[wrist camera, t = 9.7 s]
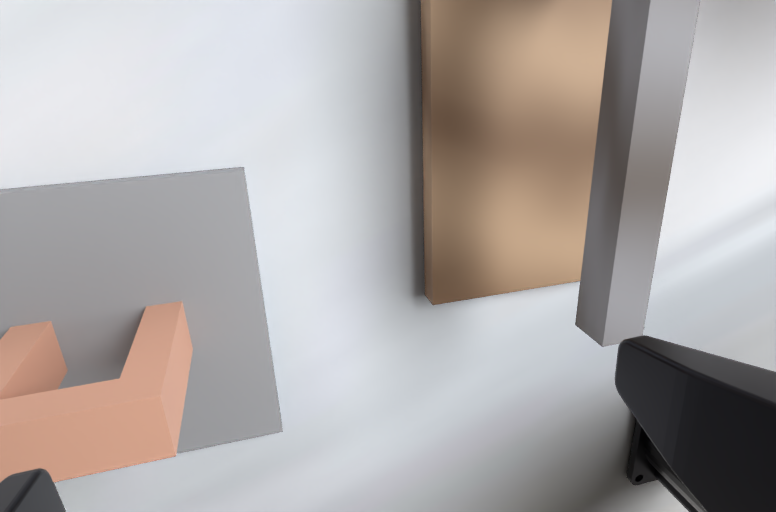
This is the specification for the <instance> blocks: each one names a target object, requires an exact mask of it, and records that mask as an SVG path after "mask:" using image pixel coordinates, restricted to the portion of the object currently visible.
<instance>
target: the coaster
mask: <svg viewBox="0 0 776 512" xmlns="http://www.w3.org/2000/svg"><path fill="white" fill-rule="evenodd" d="M179 301H182V302H183V307H184V311H185V316H186V320H187V325H188V329H189V334H190V338H191V343H192V347H193V352H192V358H191V365H190V371H189V377H188V383H187V390H186V396H185V402H184V409H183V415H182V421H181V428H180V434H179V440H178V447H177V453H176V454H178V453H183V452H187V451H192V450H197V449H202V448H207V447H211V446H216V445H221V444H226V443H231V442H235V441H240V440H245V439H250V438H255V437H259V436H264V435H269V434H274V433H279V432H283V431H282V422H281V415H280V408H279V402H278V395H277V388H276V381H275V375H274V368H273V361H272V354H271V348H270V341H269V334H268V327H267V321H266V314H265V307H264V300H263V294H262V287H261V280H260V273H259V267H258V260H257V253H256V246H255V239H254V233H253V226H252V219H251V212H250V206H249V199H248V192H247V185H246V179H245V172H244V167H239V168H229V169H218V170H207V171H196V172H185V173H174V174H164V175H153V176H142V177H131V178H120V179H109V180H99V181H88V182H77V183H66V184H55V185H45V186H34V187H23V188H12V189H1V190H0V339H1V338H2V337H3V336H4V334H5V333H6V332H7V331H8V330H9V328H10V327H13V326H20V325H27V324H33V323H40V322H47V321H51V323H52V325H53V328H54V331H55V334H56V337H57V340H58V343H59V346H60V349H61V352H62V355H63V358H64V361H65V364H66V367H67V370H68V371H67V373H66V375H65V377H64V378H63V380H62V382H61V384H60V386H59V388H58V389H63V388H69V387H74V386H80V385H85V384H91V383H97V382H102V381H108V380H114V379H119V378H120V376H121V373H122V371H123V368H124V365H125V362H126V360H127V357H128V354H129V352H130V349H131V346H132V343H133V341H134V338H135V335H136V333H137V330H138V327H139V324H140V322H141V319H142V316H143V314H144V311H145V308H146V306H153V305H159V304H166V303H173V302H179Z"/></svg>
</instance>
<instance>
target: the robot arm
mask: <svg viewBox="0 0 776 512" xmlns="http://www.w3.org/2000/svg"><path fill="white" fill-rule="evenodd" d="M615 385H616V388H617V391H618V393H619V395H620V396H621V398H622V399H623V401H624V402H625V403H626V405H627V406H628V408H629V409H630V411H631V412H632V414H633V415H634V416H635V418H636V419H637V420H636V426H635V431H634V437H633V442H632V448H631V454H630V459H629V465H628V470H627V478H628V480H629V481H630V482H631V483H632V484H633V485H640V484H643V483H647V482H651V481H654V480H659V481H660V482H661V483H662V484H663V485H664V486H665V487H666V488H667V489H668V491H669V492H670V493H671V494H672V495H673V496H674V497H675V498H676V499H677V500H678V501H679V502H680V503H681V504H682V505H683V506H684V507H685V508H686V509H687V510H688V511H689V512H776V372H774V371H770V370H767V369H763V368H760V367H756V366H753V365H749V364H745V363H742V362H738V361H735V360H731V359H728V358H724V357H721V356H717V355H713V354H710V353H706V352H703V351H699V350H696V349H692V348H689V347H685V346H681V345H678V344H674V343H671V342H667V341H664V340H660V339H656V338H653V337H649V336H637V337H632V338H628V339H624V340H623V341H621V343H620V344H619V347H618V355H617V363H616V372H615ZM0 512H66V511H65V508H64V506H63V504H62V501H61V499H60V496H59V494H58V492H57V489H56V487H55V485H54V482H53V480H52V478H51V476H50V474H49V472H48V471H47V470H45V469H42V468H38V469H33V470H29V471H24V472H20V473H15V474H12V475H10V476H8V477H7V478H5V479H4V480H3V481H1V482H0Z"/></svg>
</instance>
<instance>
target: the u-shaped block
mask: <svg viewBox="0 0 776 512" xmlns="http://www.w3.org/2000/svg"><path fill="white" fill-rule="evenodd" d="M192 352H193V347H192V343H191V338H190V334H189V329H188V325H187V320H186V316H185V311H184V307H183V302H182V301H179V302H173V303H166V304H159V305H153V306H146V308H145V311H144V314H143V316H142V319H141V322H140V324H139V327H138V330H137V333H136V335H135V338H134V341H133V343H132V346H131V349H130V352H129V354H128V357H127V360H126V362H125V365H124V368H123V371H122V373H121V376H120V378H119V379H114V380H108V381H102V382H97V383H91V384H85V385H80V386H74V387H69V388H63V389H58V388H59V386H60V384H61V382H62V380H63V378H64V377H65V375H66V373H67V371H68V370H67V367H66V364H65V361H64V358H63V355H62V352H61V349H60V346H59V343H58V340H57V337H56V334H55V331H54V328H53V325H52V323H51V321H47V322H40V323H33V324H27V325H20V326H13V327H10V328H9V330H8V331H7V332H6V333H5V334H4V336H3V337H2V338H1V339H0V482H1V481H3V480H4V479H5V478H7V477H8V476H10V475H12V474H15V473H20V472H24V471H29V470H33V469H38V468H42V469H45V470H47V471H48V472H49V474H50V476H51V478H52V480H53V482H58V481H63V480H67V479H72V478H77V477H81V476H86V475H91V474H95V473H100V472H105V471H109V470H114V469H119V468H123V467H128V466H133V465H137V464H142V463H147V462H151V461H156V460H161V459H165V458H170V457H175V456H176V453H177V447H178V440H179V434H180V428H181V421H182V415H183V409H184V402H185V396H186V390H187V383H188V377H189V371H190V365H191V358H192Z"/></svg>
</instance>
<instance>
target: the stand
mask: <svg viewBox="0 0 776 512" xmlns="http://www.w3.org/2000/svg"><path fill="white" fill-rule="evenodd" d="M699 5H700V0H421V60H422V132H423V204H424V276H425V295H426V297H427V298H428V299H429V301H430V302H431V303H432V305H436V304H442V303H448V302H454V301H461V300H467V299H473V298H479V297H485V296H491V295H497V294H503V293H509V292H515V291H521V290H528V289H534V288H540V287H546V286H552V285H558V284H564V283H570V282H576V281H580V288H579V297H578V306H577V314H576V323H575V325H576V326H577V327H579V328H580V329H581V330H582V331H584V332H585V333H586V334H587V335H588V336H590V337H591V338H592V339H593V340H595V341H596V342H597V343H598V344H599V345H601V346H602V347H604V346H609V345H614V344H619V343H621V341H623V340H624V339H628V338H632V337H637V336H643V330H644V324H645V318H646V312H647V307H648V301H649V295H650V289H651V283H652V278H653V272H654V266H655V260H656V254H657V248H658V243H659V237H660V231H661V225H662V219H663V214H664V208H665V202H666V196H667V190H668V185H669V179H670V173H671V167H672V161H673V156H674V150H675V144H676V138H677V132H678V126H679V121H680V115H681V109H682V103H683V97H684V92H685V86H686V80H687V74H688V68H689V63H690V57H691V51H692V45H693V39H694V34H695V28H696V22H697V16H698V10H699Z"/></svg>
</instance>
